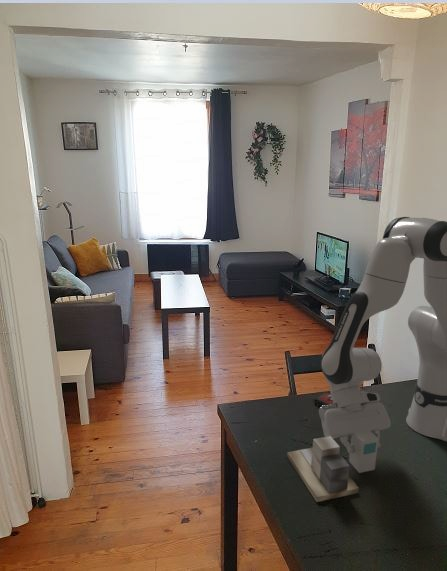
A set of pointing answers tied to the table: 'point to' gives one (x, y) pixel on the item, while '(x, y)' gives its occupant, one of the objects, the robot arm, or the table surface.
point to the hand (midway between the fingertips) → (364, 450)
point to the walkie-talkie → (324, 400)
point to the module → (364, 451)
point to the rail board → (315, 481)
